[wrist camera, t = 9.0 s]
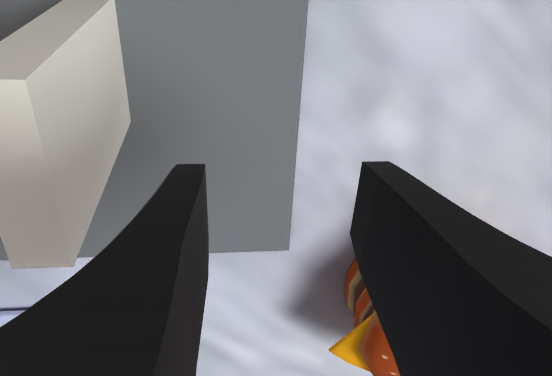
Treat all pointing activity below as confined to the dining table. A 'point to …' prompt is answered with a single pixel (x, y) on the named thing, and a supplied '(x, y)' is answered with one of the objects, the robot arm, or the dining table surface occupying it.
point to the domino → (58, 129)
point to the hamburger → (364, 332)
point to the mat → (203, 112)
